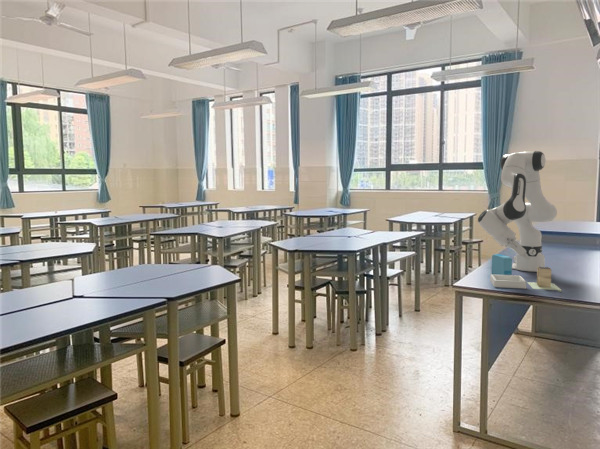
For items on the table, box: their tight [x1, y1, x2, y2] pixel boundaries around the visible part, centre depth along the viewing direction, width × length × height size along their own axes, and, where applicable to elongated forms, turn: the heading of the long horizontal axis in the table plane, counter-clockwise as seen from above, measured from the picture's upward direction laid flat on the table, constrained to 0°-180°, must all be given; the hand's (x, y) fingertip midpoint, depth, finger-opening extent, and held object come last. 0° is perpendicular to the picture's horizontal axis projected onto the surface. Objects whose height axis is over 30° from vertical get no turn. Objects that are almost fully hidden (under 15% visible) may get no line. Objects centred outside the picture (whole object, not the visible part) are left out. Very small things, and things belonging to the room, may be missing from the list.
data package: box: [491, 253, 513, 275], centre depth 232 cm, size 12×4×12 cm, turn 5°
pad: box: [526, 281, 563, 293], centre depth 210 cm, size 14×12×1 cm
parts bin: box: [489, 273, 527, 289], centre depth 214 cm, size 14×14×4 cm
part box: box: [536, 266, 552, 287], centre depth 209 cm, size 5×5×9 cm
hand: (527, 257), depth 211 cm, fingers open, 8 cm apart
